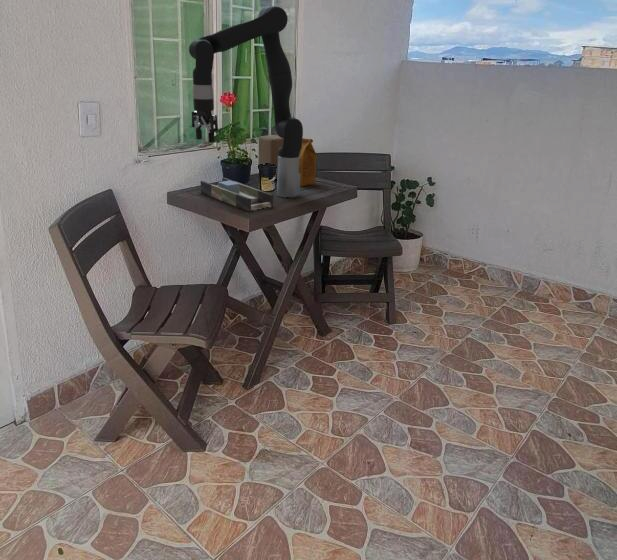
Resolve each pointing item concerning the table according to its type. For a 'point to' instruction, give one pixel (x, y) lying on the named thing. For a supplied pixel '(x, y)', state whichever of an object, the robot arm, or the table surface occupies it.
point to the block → (269, 149)
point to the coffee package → (307, 163)
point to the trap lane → (239, 196)
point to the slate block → (229, 186)
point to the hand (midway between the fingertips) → (205, 140)
